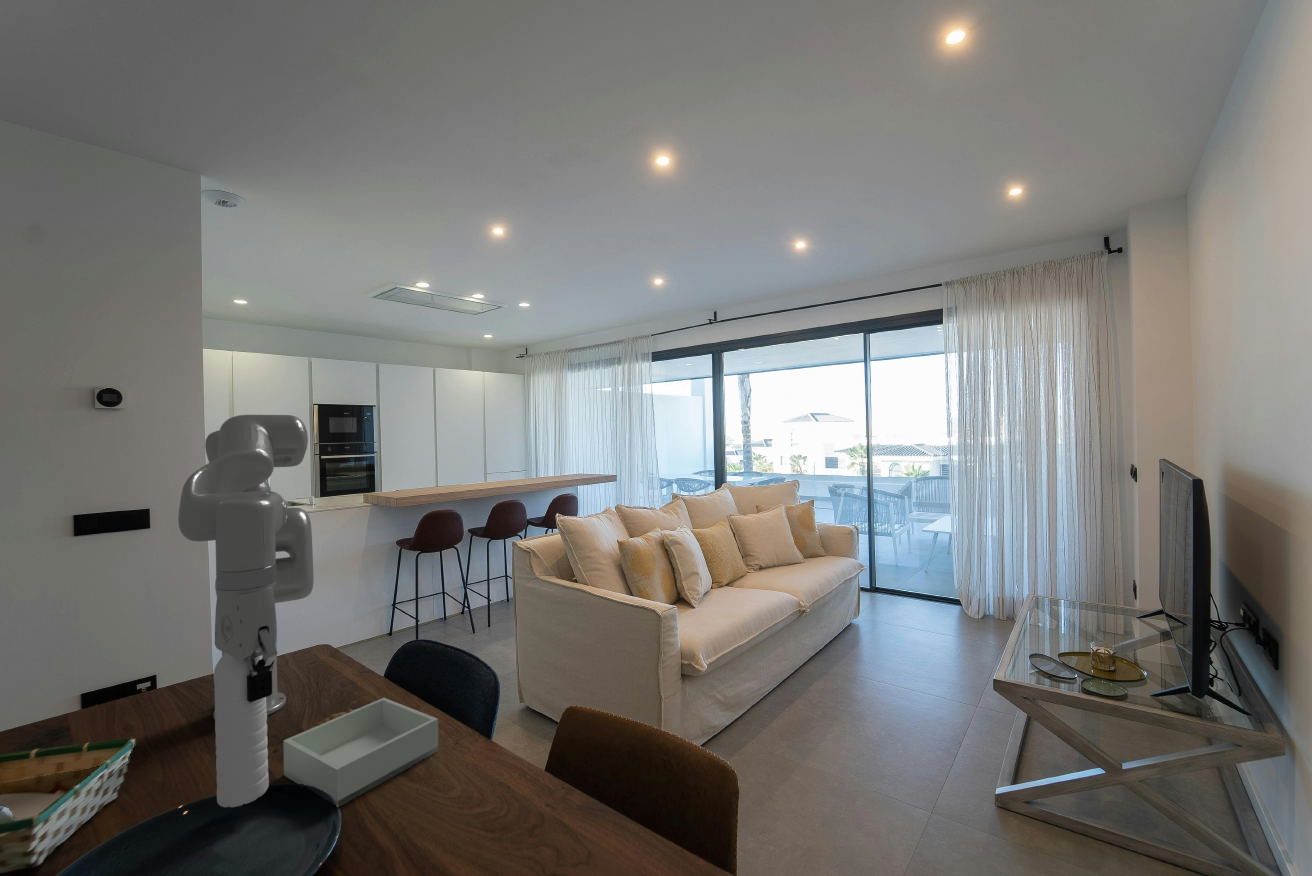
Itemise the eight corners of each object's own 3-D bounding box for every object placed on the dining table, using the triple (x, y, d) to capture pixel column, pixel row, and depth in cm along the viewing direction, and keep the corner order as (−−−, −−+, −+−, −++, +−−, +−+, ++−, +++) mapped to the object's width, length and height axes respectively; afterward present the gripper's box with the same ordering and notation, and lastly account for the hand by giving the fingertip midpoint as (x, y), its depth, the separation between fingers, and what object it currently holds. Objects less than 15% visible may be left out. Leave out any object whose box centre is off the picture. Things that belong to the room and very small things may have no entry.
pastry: (307, 751, 107) (307, 731, 107) (299, 738, 112) (299, 718, 111) (362, 733, 113) (362, 713, 113) (352, 721, 118) (352, 702, 118)
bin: (283, 775, 99) (283, 740, 99) (384, 727, 115) (384, 697, 115) (337, 807, 90) (336, 769, 90) (438, 751, 106) (437, 718, 106)
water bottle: (237, 812, 85) (233, 644, 84) (206, 803, 87) (201, 639, 86) (291, 777, 93) (288, 624, 92) (262, 770, 95) (258, 620, 94)
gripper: (193, 575, 90) (195, 688, 91) (245, 592, 81) (247, 718, 82) (247, 565, 97) (249, 670, 97) (301, 580, 87) (303, 696, 88)
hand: (248, 691), depth 89 cm, fingers closed on water bottle, 6 cm apart
